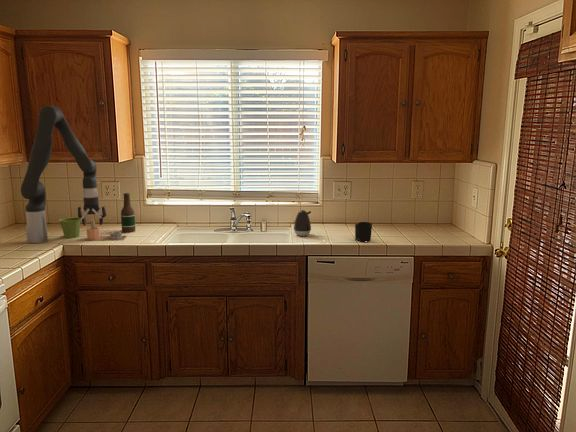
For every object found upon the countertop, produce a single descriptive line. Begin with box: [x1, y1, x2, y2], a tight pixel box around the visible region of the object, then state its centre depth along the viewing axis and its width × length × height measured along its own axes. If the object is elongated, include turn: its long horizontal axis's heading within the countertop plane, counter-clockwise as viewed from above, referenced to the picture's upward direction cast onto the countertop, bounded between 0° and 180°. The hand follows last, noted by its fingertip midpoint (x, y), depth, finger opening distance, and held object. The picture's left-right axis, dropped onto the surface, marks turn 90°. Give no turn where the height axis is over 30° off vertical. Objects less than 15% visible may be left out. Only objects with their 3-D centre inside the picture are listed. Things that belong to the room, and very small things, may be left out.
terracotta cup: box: [86, 226, 101, 240], centre depth 255 cm, size 6×6×6 cm
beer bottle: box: [120, 192, 136, 234], centre depth 272 cm, size 8×8×24 cm
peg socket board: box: [83, 231, 128, 242], centre depth 256 cm, size 21×11×4 cm, turn 98°
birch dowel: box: [89, 219, 96, 229], centre depth 254 cm, size 2×2×10 cm
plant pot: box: [58, 216, 82, 239], centre depth 259 cm, size 12×12×11 cm
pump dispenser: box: [293, 209, 312, 237], centre depth 271 cm, size 10×10×15 cm
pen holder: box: [354, 221, 373, 243], centre depth 260 cm, size 9×9×10 cm
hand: (92, 225), depth 254 cm, fingers open, 8 cm apart
